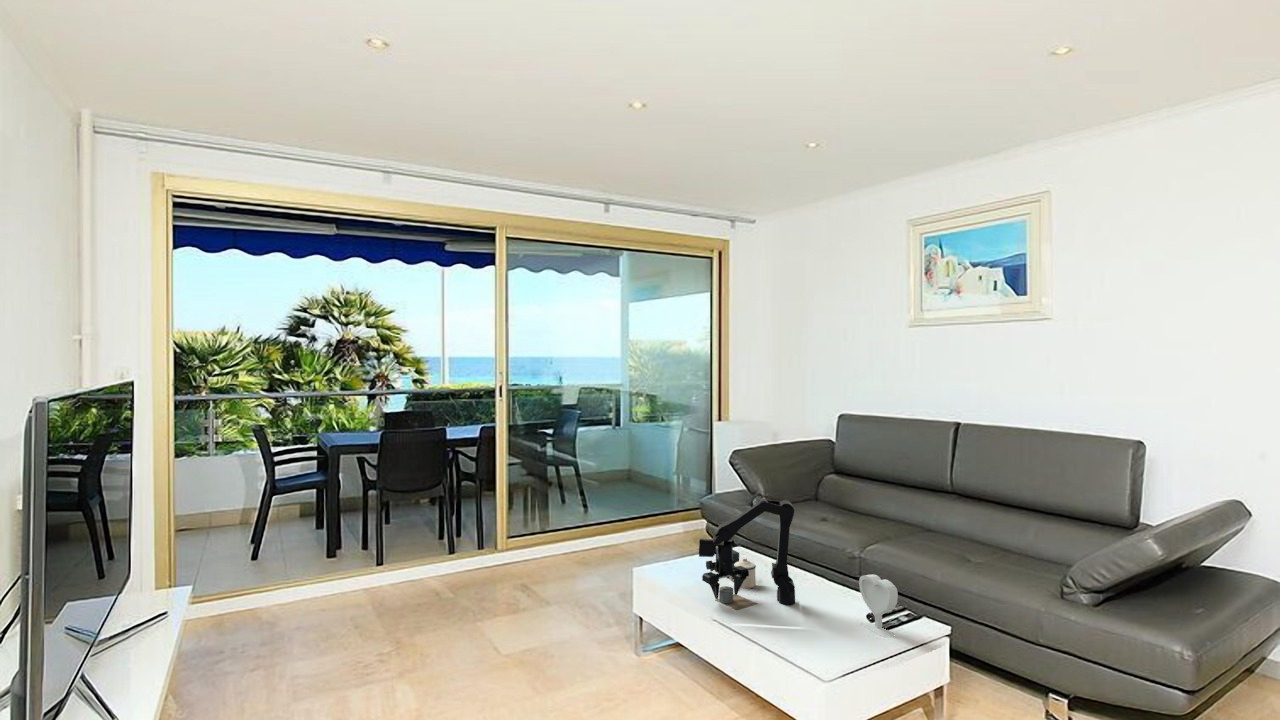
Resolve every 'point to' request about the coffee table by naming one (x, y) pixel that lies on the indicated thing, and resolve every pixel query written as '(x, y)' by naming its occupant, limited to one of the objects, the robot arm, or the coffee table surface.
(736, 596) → the base plate
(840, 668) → the coffee table surface
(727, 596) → the knob
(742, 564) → the teacup with lid
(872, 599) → the heart sculpture
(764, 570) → the coffee table surface
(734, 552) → the small box
